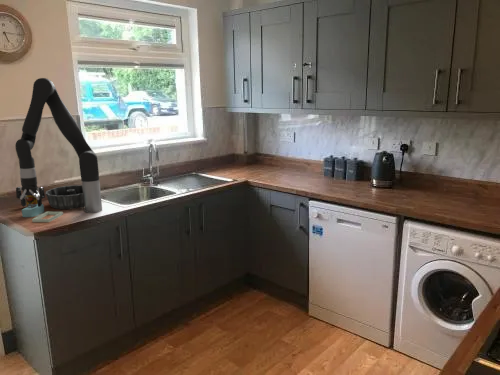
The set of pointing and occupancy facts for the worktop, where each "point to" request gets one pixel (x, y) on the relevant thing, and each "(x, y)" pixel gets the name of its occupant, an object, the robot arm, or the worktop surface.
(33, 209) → the slotted block
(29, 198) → the condiment
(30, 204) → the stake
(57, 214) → the tray
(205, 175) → the worktop surface
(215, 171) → the worktop surface
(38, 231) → the worktop surface
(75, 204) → the bundt pan
